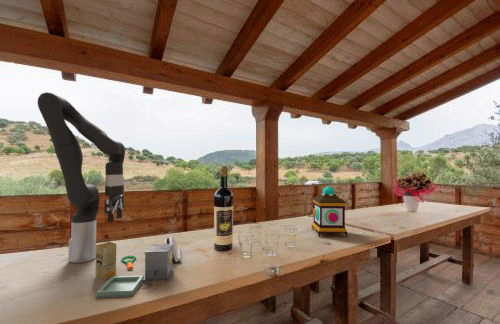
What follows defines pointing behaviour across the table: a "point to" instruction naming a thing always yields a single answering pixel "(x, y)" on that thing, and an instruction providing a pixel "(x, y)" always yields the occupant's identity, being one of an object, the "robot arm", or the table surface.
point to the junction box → (158, 262)
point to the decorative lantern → (329, 213)
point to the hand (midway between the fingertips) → (115, 220)
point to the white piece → (174, 249)
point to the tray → (120, 286)
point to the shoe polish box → (105, 260)
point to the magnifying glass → (129, 261)
